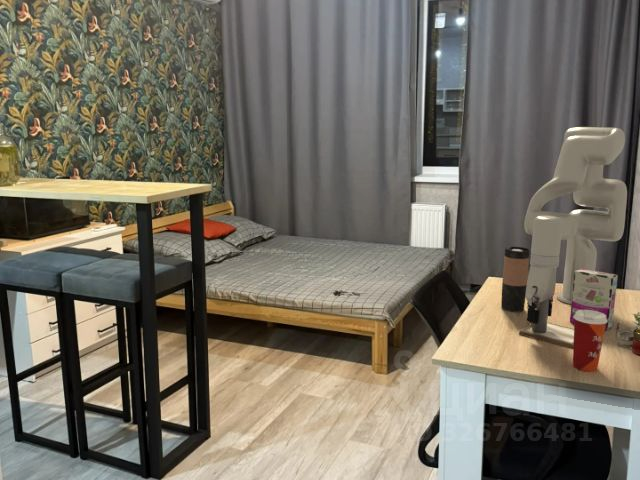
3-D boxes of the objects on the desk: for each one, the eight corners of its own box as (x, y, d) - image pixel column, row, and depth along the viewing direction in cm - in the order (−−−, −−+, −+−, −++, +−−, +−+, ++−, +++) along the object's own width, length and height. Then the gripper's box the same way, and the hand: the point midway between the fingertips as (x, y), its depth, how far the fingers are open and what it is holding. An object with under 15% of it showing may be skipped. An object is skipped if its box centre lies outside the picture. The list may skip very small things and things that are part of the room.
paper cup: (599, 376, 140) (606, 321, 137) (565, 368, 144) (571, 315, 141) (603, 365, 146) (610, 312, 143) (571, 358, 150) (576, 306, 147)
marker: (535, 327, 170) (538, 284, 167) (549, 330, 167) (552, 287, 164) (528, 331, 167) (532, 287, 164) (543, 334, 164) (546, 290, 161)
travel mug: (526, 312, 186) (531, 252, 182) (501, 310, 188) (506, 250, 184) (523, 305, 194) (528, 247, 190) (499, 303, 195) (503, 245, 191)
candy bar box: (612, 327, 174) (619, 274, 171) (607, 331, 171) (613, 277, 167) (574, 318, 182) (580, 267, 178) (568, 322, 178) (574, 270, 175)
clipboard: (537, 323, 177) (538, 317, 176) (592, 336, 166) (593, 330, 165) (519, 334, 167) (519, 327, 167) (575, 349, 157) (576, 342, 156)
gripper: (543, 253, 171) (538, 309, 175) (518, 262, 159) (513, 323, 162) (569, 257, 166) (563, 315, 170) (545, 267, 154) (539, 329, 157)
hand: (539, 318), depth 166 cm, fingers open, 8 cm apart
